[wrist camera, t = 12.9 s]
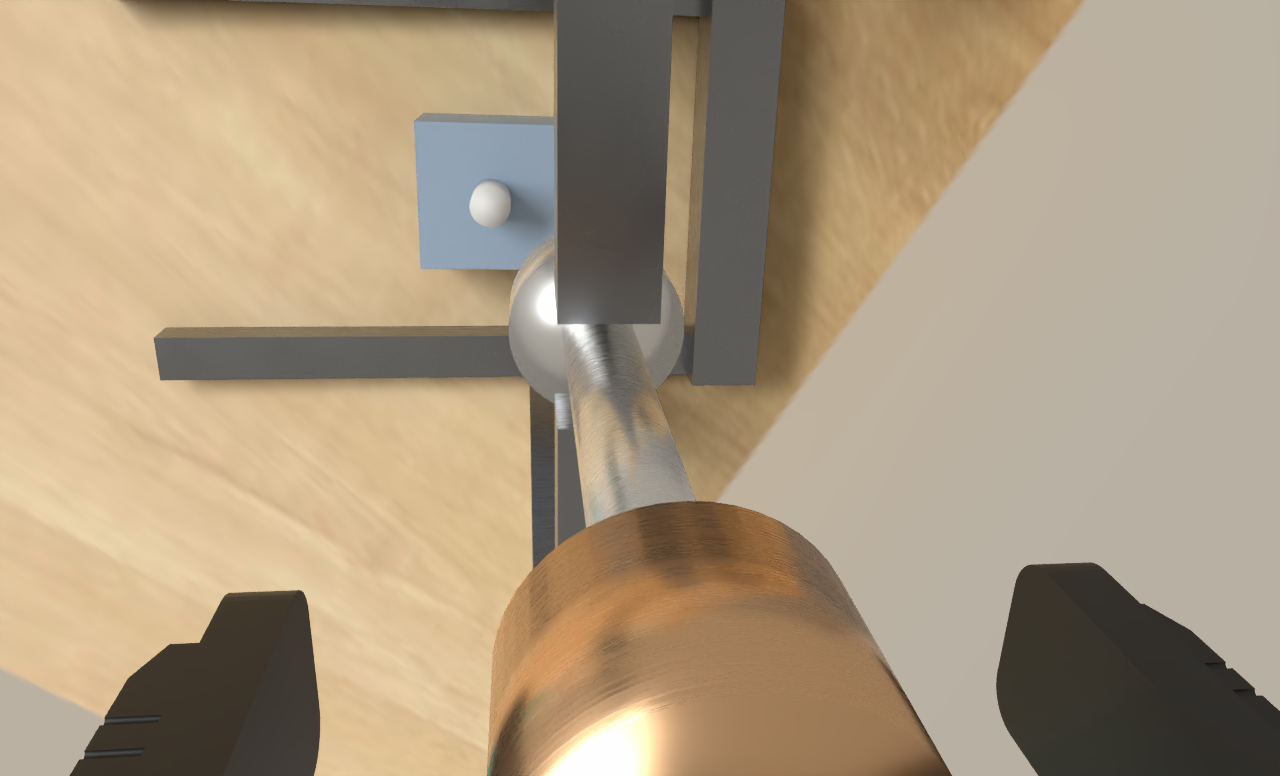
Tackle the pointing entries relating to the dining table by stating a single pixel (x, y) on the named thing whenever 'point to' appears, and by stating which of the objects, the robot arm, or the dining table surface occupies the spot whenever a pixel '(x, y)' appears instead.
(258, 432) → the dining table surface
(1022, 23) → the dining table surface
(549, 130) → the housing block
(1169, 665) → the robot arm
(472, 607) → the dining table surface
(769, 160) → the press frame
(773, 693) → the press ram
